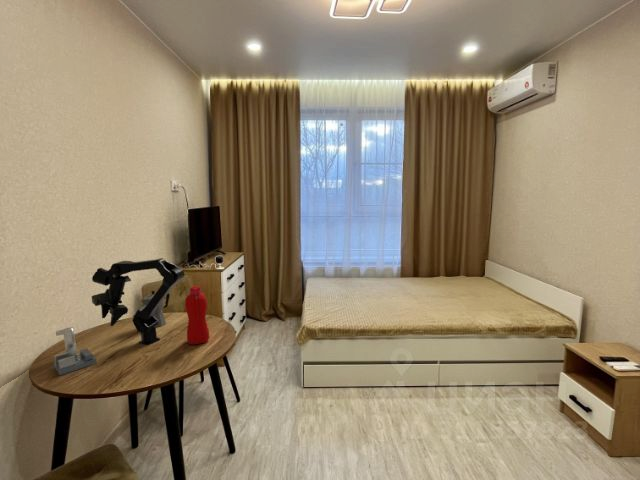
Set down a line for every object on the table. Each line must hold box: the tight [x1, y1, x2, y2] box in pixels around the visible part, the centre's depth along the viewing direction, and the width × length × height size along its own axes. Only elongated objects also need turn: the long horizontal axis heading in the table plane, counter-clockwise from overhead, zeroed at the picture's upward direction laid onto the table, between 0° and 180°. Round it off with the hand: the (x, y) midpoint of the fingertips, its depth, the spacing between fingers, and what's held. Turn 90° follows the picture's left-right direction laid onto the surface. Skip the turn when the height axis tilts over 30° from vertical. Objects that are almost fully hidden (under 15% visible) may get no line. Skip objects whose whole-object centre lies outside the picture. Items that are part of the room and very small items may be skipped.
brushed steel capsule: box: [55, 326, 78, 356], centre depth 144 cm, size 6×4×12 cm, turn 124°
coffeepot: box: [140, 290, 171, 329], centre depth 178 cm, size 15×9×18 cm, turn 147°
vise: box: [53, 348, 97, 376], centre depth 137 cm, size 12×10×5 cm
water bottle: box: [184, 285, 210, 345], centre depth 153 cm, size 9×11×25 cm
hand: (107, 321), depth 156 cm, fingers open, 9 cm apart
